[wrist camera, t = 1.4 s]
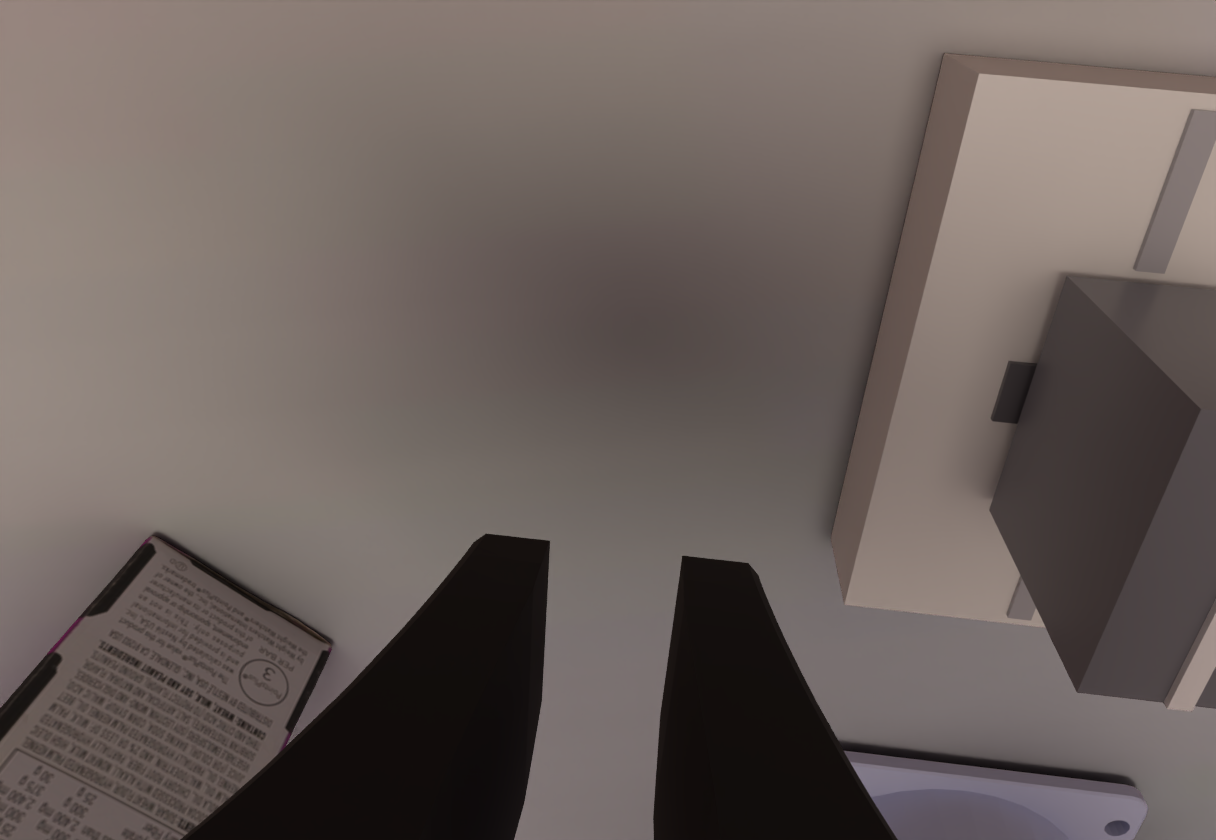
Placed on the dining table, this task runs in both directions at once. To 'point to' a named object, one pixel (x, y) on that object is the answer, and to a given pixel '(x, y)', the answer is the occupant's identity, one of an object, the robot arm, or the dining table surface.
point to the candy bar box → (153, 706)
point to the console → (1007, 303)
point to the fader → (1121, 490)
